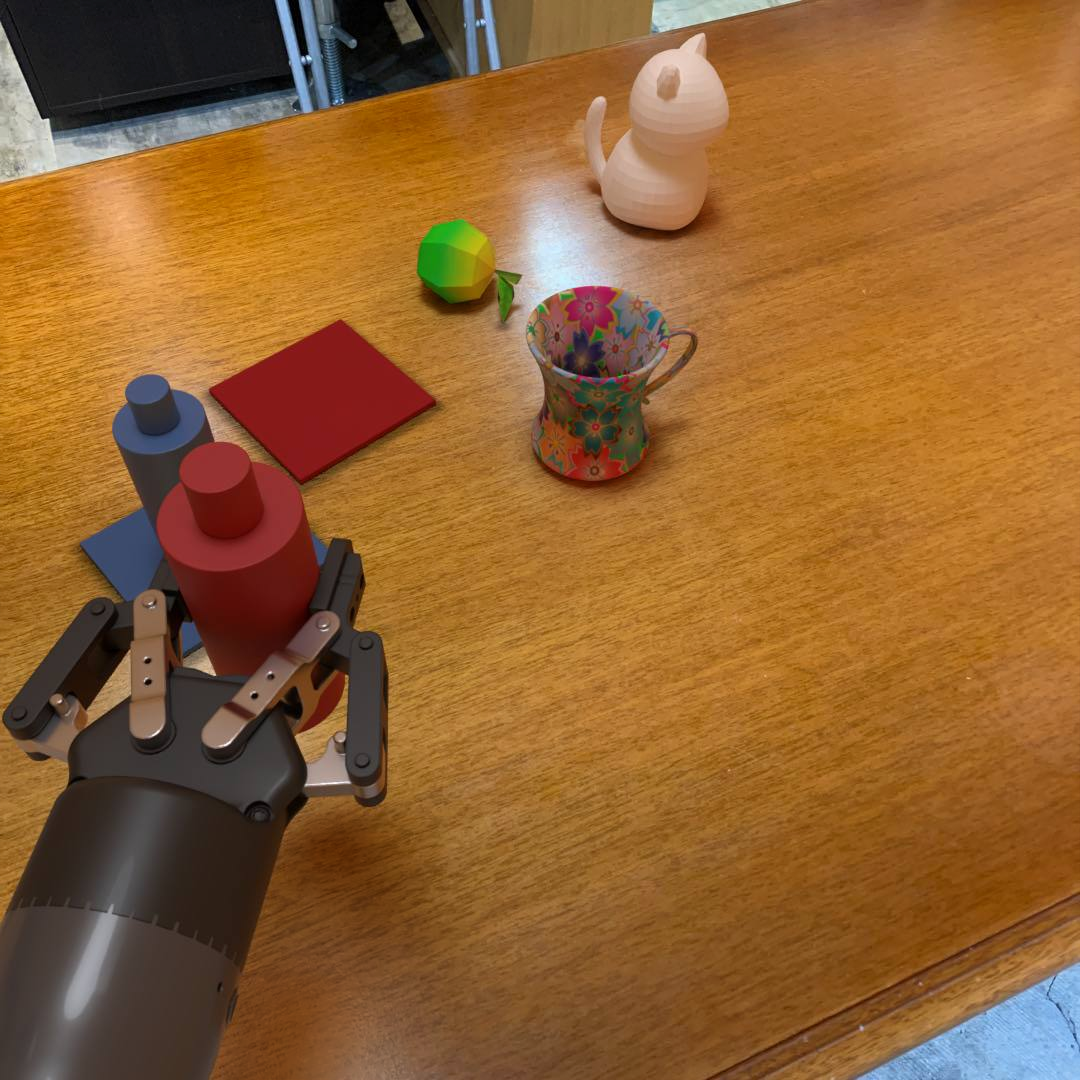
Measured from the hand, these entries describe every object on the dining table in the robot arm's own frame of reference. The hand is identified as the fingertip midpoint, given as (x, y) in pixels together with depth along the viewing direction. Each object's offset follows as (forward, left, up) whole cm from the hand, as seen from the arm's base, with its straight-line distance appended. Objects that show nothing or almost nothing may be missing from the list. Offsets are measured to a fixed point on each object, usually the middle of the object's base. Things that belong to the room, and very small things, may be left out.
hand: (274, 543), depth 44 cm
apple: (+33, +28, -22) cm, 49 cm away
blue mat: (+3, +19, -22) cm, 29 cm away
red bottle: (-2, -2, -7) cm, 7 cm away
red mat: (+17, +26, -22) cm, 38 cm away
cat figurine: (+52, +27, -22) cm, 63 cm away
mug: (+30, +9, -22) cm, 38 cm away
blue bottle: (+3, +19, -21) cm, 29 cm away
